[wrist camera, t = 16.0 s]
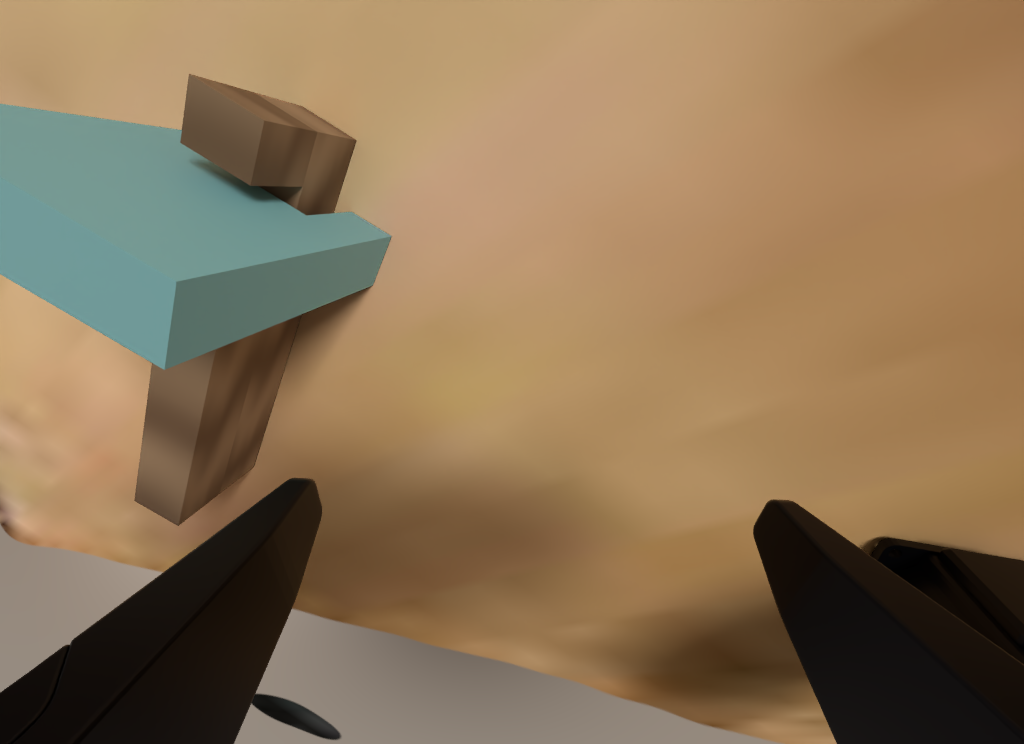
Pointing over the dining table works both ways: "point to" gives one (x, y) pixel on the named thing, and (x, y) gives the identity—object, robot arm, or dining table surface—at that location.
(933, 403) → the dining table surface
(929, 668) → the robot arm
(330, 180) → the walnut rail
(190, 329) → the teal notched plate
